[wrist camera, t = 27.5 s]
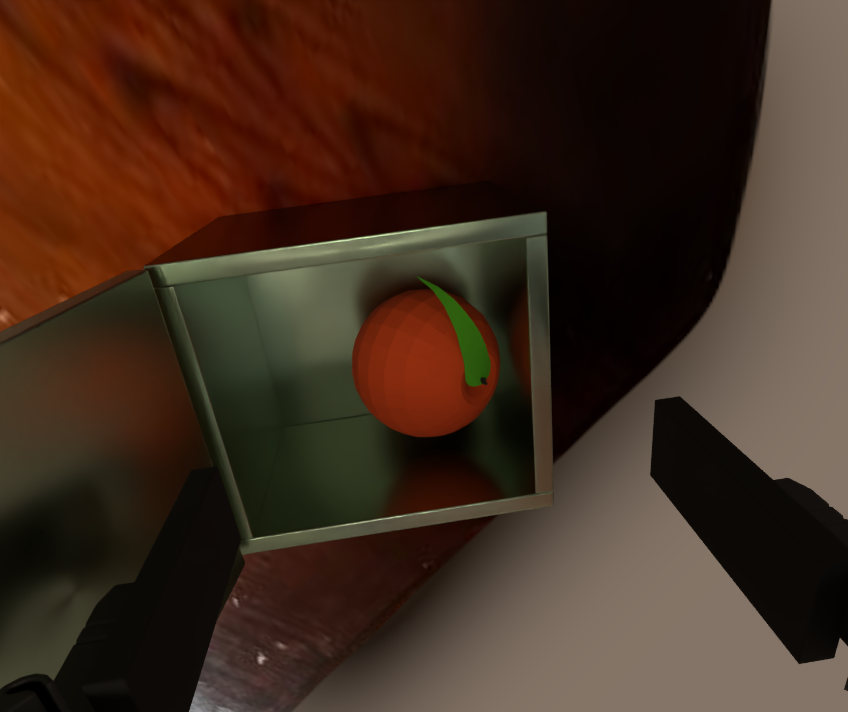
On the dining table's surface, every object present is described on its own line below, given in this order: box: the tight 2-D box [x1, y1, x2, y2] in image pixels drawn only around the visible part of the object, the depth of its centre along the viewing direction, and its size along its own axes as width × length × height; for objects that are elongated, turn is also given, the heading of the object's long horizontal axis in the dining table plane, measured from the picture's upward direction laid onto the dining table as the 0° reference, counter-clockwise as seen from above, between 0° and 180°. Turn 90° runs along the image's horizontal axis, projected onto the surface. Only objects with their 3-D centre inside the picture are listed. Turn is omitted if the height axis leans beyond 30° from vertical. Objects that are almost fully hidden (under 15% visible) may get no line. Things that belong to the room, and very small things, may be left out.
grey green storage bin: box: [144, 181, 554, 555], centre depth 25 cm, size 14×13×10 cm
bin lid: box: [0, 270, 245, 689], centre depth 14 cm, size 14×13×1 cm
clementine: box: [352, 276, 500, 437], centre depth 25 cm, size 8×7×7 cm
